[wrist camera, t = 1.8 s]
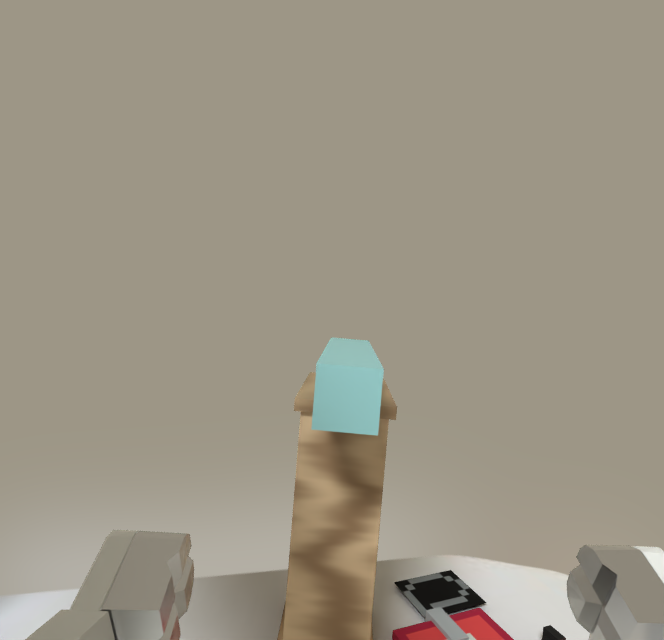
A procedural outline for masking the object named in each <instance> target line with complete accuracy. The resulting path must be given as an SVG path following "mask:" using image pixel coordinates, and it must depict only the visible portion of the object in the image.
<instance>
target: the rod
mask: <svg viewBox="0 0 664 640" xmlns="http://www.w3.org/2000/svg"><path fill="white" fill-rule="evenodd" d="M383 370H384V369H383V367H382V365H381V363H380V361H379V359H378V358H377V356H376V354H375V352H374V350H373V348H372V346H371V345H370V343H369V341H366V340H354V339H342V338H331V339H330V341H329V342H328V344H327V346H326V348H325V350H324V351H323V353H322V355H321V357H320V358H319V360H318V362H317V366H316V378H315V391H314V403H313V416H312V428H311V430H322V431H333V432H344V433H355V434H366V435H377V436H378V430H379V418H380V406H381V395H382V383H383Z"/></svg>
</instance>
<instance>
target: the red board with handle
mask: <svg viewBox="0 0 664 640" xmlns="http://www.w3.org/2000/svg"><path fill="white" fill-rule="evenodd" d="M394 583H395V584H396V585H397V586H398V588H399V589H400V590H401V591H402V592H403V593H404V595H405V596H406V597H407V598H408V599H409V600H410V601H411V603H412V604H413V605H414V606H415V607H416V608H417V610H418V611H419V612H420V613H421V614H422V615H423V616H424V618H425V622H423V623H419V624H416V625H412V626H408V627H404V628H400V629H397V630H393V635H392V639H393V640H514V639H512V638H511V637H510V636H509V635H508V634H507V633H506V632H505V631H504V630H503V629H502V628H501V627H500V626H499V625H498V624H497V623H495V622H494V621H493V620H492V619H491V618H490V617H489V616H488V615H487V614H486V613H485V612H484V611H483V610H482V609H481V608H476V609H472V610H469V611H465V612H461V613H457V614H453V615H450V616H449V615H448V614H447V613H450V612H453V611H457V610H461V609H465V608H469V607H473V606H476V605H480V604H484V603H486V602H485V601H484V600H483V599H482V598H481V597H480V596H478V595H477V594H476V593H475V592H474V591H473V590H472V589H471V588H470V587H469V586H468V585H466V584H465V583H464V582H463V581H462V580H461V579H460V578H459V577H458V576H457V575H455V574H454V573H453V572H452V571H451V570H450V571H445V572H440V573H436V574H431V575H427V576H422V577H417V578H413V579H408V580H403V581H399V582H394ZM542 640H566V638H565V637H564V636H563V635H561V634H560V633H559V632H558V631H557V630H555V629H554V628H553V627H552V626H551V625H549V626H546V627H543V638H542Z"/></svg>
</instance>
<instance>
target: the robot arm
mask: <svg viewBox="0 0 664 640" xmlns="http://www.w3.org/2000/svg"><path fill="white" fill-rule="evenodd" d="M190 547H191V540H190V535H189V534H181V533H165V532H164V533H163V532H147V531H128V530H126V531H125V530H113V531H112V532H111V533H110V534H109V535H108V536H107V537H106V539H105V541H104V543H103V545H102V547H101V549H100V551H99V553H98V555H97V557H96V559H95V561H94V563H93V565H92V567H91V569H90V571H89V573H88V575H87V577H86V579H85V581H84V582H83V584H82V586H81V588H80V590H79V592H78V594H77V596H76V598H75V600H74V602H73V604H72V606H71V608H70V610H61V611H59V612H58V613H57V614H56V615H55V616H53V617H52V618H51V619H50V620H48V621H47V622H46V623H45V624H44V625H42V626H41V627H40V628H39V629H37V630H36V631H35V632H34V633H33V634H31V635H30V636H29V637H28V638H27V639H25V640H179V638H180V627H179V619H180V618H181V617H182V616H183V615H184V614H185V613H186V612H187V609H188V605H189V601H190V598H191V592H192V586H193V579H194V566H193V560H192V559H191V558H190V557H189V556H188V555H189V551H190ZM577 559H578V561H579V563H580V565H579V566H577V567H576V568H575V569H573V570H572V571H571V572H570V574H569V577H568V580H567V597H568V600H569V604H570V607H571V610H572V612H573V614H574V616H575V618H576V621H577V622H578V623H579V624H580V625H582V626H583V627H584V628H585V629H586V630H587V631H588V632H589V633H590V635H589V640H664V551H663V550H661V549H660V548H659V547H640V546H634V547H631V546H621V545H585V546H583V547H582V548H580V550H579V552H578V555H577Z"/></svg>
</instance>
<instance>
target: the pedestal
mask: <svg viewBox="0 0 664 640" xmlns="http://www.w3.org/2000/svg"><path fill="white" fill-rule="evenodd" d="M315 378H316V373H312V372H311V373H310V374H309V375H308V377H307V379H306V380H305V382H304V384H303V385H302V387H301V389H300V390H299V392H298V394H297V396H296V397H295V405H294V411H301V416H300V429H299V442H298V455H297V467H296V480H295V492H294V504H293V518H292V530H291V542H290V555H289V568H288V580H287V593H286V601H285V606H284V610H283V615H282V620H281V624H280V629H279V634H278V638H277V640H373V634H372V609H373V597H374V586H375V574H376V562H377V550H378V539H379V526H380V515H381V504H382V492H383V480H384V469H385V458H386V446H387V434H388V422H389V419H392V420H396V413H397V406H396V404H395V402H394V400H393V398H392V395H391V393H390V391H389V389H388V387H387V385H386V382H385V380H384V379H383V383H382V395H381V406H380V418H379V430H378V436H377V435H366V434H355V433H344V432H333V431H322V430H311V428H312V416H313V403H314V391H315Z"/></svg>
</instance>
